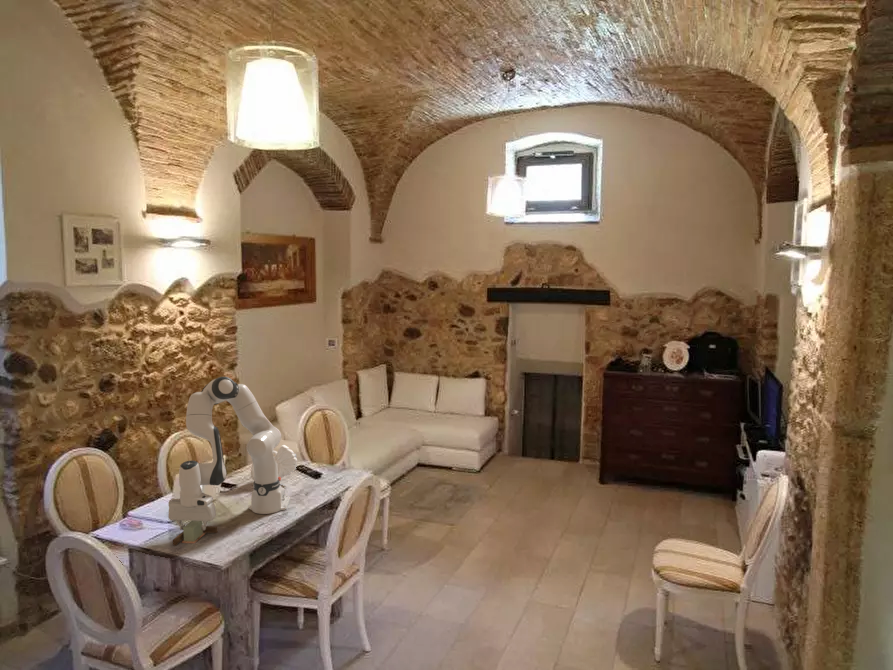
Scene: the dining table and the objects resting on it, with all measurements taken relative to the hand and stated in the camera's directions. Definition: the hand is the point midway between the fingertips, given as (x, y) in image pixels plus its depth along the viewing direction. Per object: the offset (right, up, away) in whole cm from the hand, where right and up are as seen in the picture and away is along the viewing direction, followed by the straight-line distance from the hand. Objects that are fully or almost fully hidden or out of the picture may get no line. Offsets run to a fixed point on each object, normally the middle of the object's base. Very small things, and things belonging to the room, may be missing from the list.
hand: (193, 529), depth 282 cm
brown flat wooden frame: (+1, -4, 0) cm, 4 cm away
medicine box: (+19, +7, +93) cm, 96 cm away
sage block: (0, -4, 0) cm, 4 cm away
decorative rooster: (+17, +4, +69) cm, 71 cm away
